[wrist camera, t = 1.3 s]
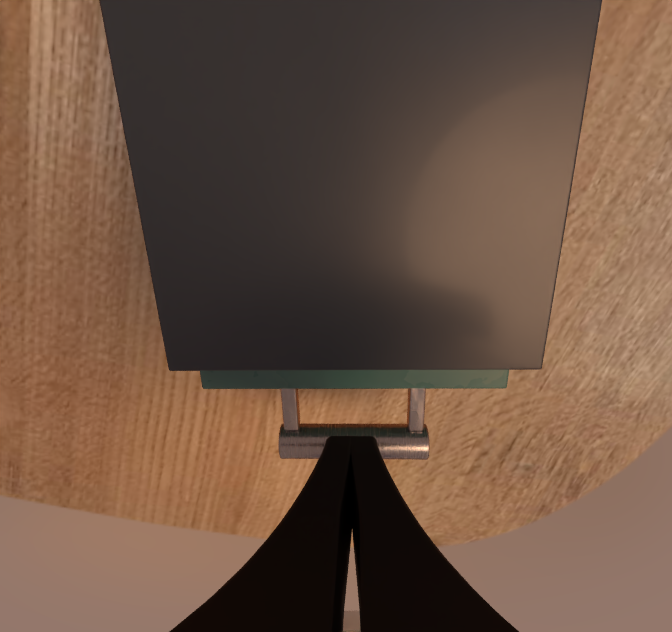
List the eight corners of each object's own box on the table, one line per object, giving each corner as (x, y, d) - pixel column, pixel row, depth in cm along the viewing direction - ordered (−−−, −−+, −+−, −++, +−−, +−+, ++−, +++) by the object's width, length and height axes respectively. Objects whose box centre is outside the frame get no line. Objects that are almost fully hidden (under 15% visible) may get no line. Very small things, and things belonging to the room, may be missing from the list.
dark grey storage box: (478, 296, 19) (541, 370, 13) (230, 299, 20) (168, 371, 13) (515, -76, 15) (647, -268, 8) (186, -59, 15) (56, -223, 9)
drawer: (460, 409, 21) (493, 490, 16) (249, 409, 21) (217, 487, 16) (498, -5, 15) (571, -87, 10) (203, 9, 15) (129, -62, 10)
